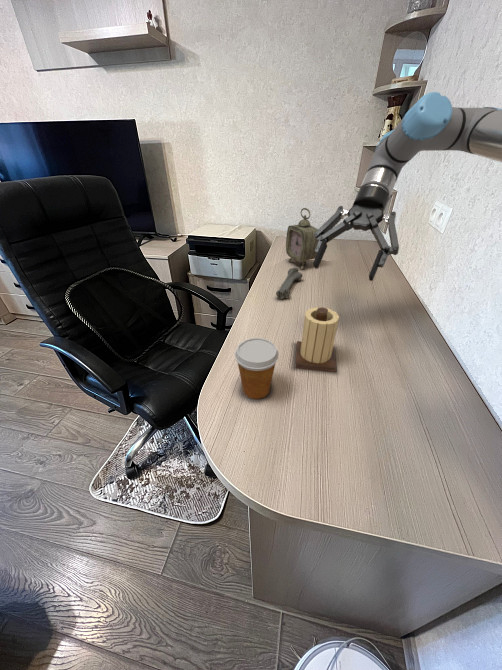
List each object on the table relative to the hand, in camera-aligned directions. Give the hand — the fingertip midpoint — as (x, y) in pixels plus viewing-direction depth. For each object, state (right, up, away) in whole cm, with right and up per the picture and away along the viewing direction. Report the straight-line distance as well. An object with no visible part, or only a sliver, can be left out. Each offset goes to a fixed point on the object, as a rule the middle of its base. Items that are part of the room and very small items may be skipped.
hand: (341, 272), depth 67 cm
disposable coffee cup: (-21, -28, -1) cm, 35 cm away
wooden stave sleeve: (-4, -20, +8) cm, 22 cm away
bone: (-6, +3, +44) cm, 45 cm away
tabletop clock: (+2, +18, +65) cm, 68 cm away
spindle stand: (-4, -21, +9) cm, 24 cm away
